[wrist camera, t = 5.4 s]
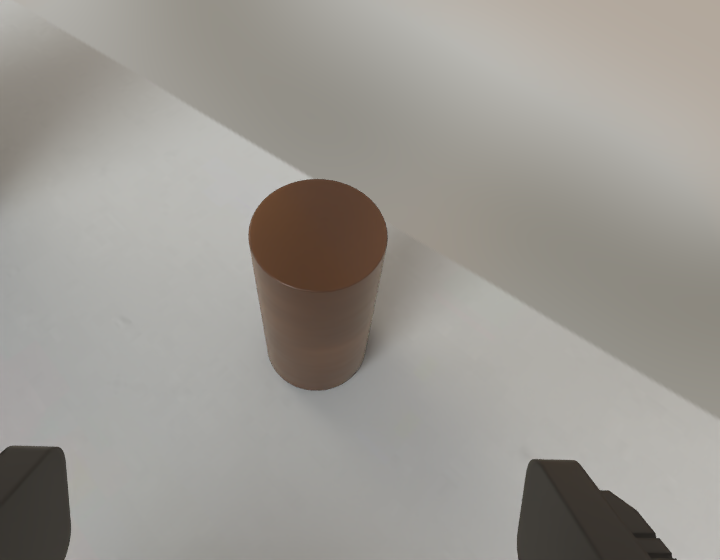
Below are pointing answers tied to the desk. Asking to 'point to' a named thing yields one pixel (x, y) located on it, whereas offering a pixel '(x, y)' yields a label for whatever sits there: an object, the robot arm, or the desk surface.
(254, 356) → the desk surface
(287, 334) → the post
